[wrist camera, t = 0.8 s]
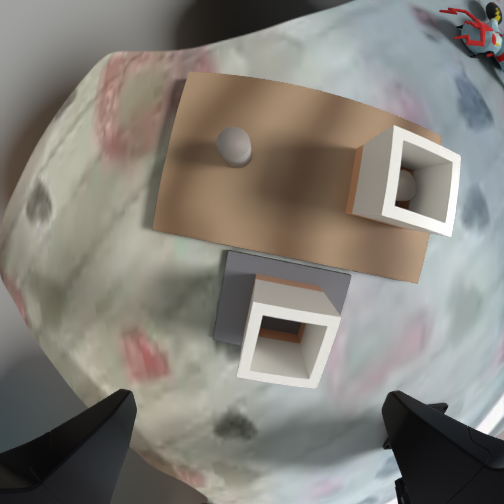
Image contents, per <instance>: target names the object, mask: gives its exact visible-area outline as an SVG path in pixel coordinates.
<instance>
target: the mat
mask: <svg viewBox="0 0 504 504" xmlns="http://www.w3.org/2000/svg"><path fill="white" fill-rule="evenodd" d="M256 274H260V275H265V276H270V277H275V278H280V279H285V280H291V281H296V282H301V283H306V284H311V285H317V286H320V288H321V289H322V290H323V292H324V293H325V295H326V296H327V297H328V299H329V300H330V302H331V303H332V304H333V306H334V307H335V309H336V310H337V312H338V313H339V314H341V311H342V307H343V304H344V301H345V297H346V294H347V290H348V287H349V283H350V279H351V275H350V274H346V273H341V272H336V271H331V270H326V269H321V268H316V267H311V266H306V265H301V264H296V263H291V262H286V261H281V260H276V259H271V258H267V257H262V256H257V255H252V254H247V253H242V252H237V251H232V250H229V251H228V257H227V262H226V267H225V273H224V278H223V284H222V290H221V295H220V301H219V307H218V312H217V318H216V324H215V330H214V336H213V340H217V341H222V342H226V343H231V344H236V345H241V346H242V341H243V335H244V330H245V325H246V320H247V316H248V311H249V306H250V302H251V297H252V292H253V287H254V283H255V278H256ZM300 325H301V322H298V321H292V320H286V319H281V318H275V317H270V316H265V315H263V316H262V320H261V325H260V328H263V329H269V330H274V331H280V332H286V333H292V334H298V332H299V329H300Z"/></svg>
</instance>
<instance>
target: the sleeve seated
mask: <svg viewBox="0 0 504 504" xmlns="http://www.w3.org/2000/svg"><path fill="white" fill-rule="evenodd" d="M460 160H461V156H460V155H458V154H456V153H454V152H452V151H450V150H448V149H446V148H444V147H442V146H440V145H438V144H436V143H434V142H432V141H430V140H428V139H426V138H423V137H421V136H419V135H417V134H414V133H412V132H410V131H407V130H405V129H402V128H400V127H397V126H395V125H393V126H392V127H390V128H388V129H387V130H385V131H384V132H382V133H380V134H379V135H377V136H376V137H374V138H372V139H371V140H369V141H368V142H366V143H364V144H363V145H361V146H360V147H358V148H357V149H356V154H355V160H354V167H353V173H352V179H351V185H350V190H349V196H348V201H347V206H346V211H345V213H347V214H351V215H354V216H358V217H362V218H366V219H370V220H373V221H377V222H381V223H384V224H388V225H391V226H395V227H398V228H402V229H408V230H414V231H419V232H425V233H431V234H436V235H442V236H447V237H451V234H452V228H453V223H454V217H455V210H456V203H457V195H458V186H459V175H460ZM400 170H405V171H408V172H409V173H410V174H411V175H412V176H413V177H414V179H415V181H416V193H415V195H414V197H413V198H412V199H410V200H408V201H400V203H399V207H396V206H395V200H396V194H397V187H398V181H399V173H400Z"/></svg>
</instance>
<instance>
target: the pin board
mask: <svg viewBox="0 0 504 504" xmlns="http://www.w3.org/2000/svg"><path fill="white" fill-rule="evenodd" d="M393 125H395V126H397V127H400V128H402V129H405V130H407V131H410V132H412V133H414V134H417V135H419V136H421V137H423V138H426V139H428V140H430V141H432V142H434V143H436V144H438V145H440V146H441V136H440V135H438V134H436V133H434V132H432V131H430V130H428V129H426V128H424V127H421V126H419V125H417V124H415V123H412V122H410V121H408V120H405V119H403V118H401V117H398V116H396V115H393V114H391V113H388V112H385V111H383V110H380V109H377V108H375V107H372V106H369V105H366V104H363V103H360V102H357V101H354V100H351V99H347V98H344V97H341V96H337V95H334V94H330V93H326V92H322V91H319V90H315V89H310V88H306V87H302V86H297V85H293V84H288V83H283V82H277V81H272V80H266V79H259V78H252V77H245V76H237V75H228V74H217V73H203V72H189V74H188V77H187V80H186V83H185V86H184V89H183V93H182V96H181V99H180V103H179V106H178V110H177V114H176V117H175V121H174V125H173V129H172V133H171V137H170V141H169V145H168V149H167V154H166V158H165V163H164V167H163V172H162V177H161V182H160V187H159V192H158V198H157V203H156V209H155V215H154V222H153V228H152V230H156V231H161V232H166V233H171V234H176V235H181V236H186V237H191V238H195V239H200V240H205V241H210V242H215V243H220V244H225V245H230V246H235V247H240V248H245V249H250V250H255V251H260V252H265V253H269V254H274V255H279V256H284V257H289V258H294V259H299V260H304V261H309V262H314V263H318V264H323V265H328V266H333V267H338V268H343V269H348V270H353V271H357V272H362V273H367V274H372V275H377V276H382V277H387V278H391V279H396V280H401V281H406V282H411V283H416V284H418V281H419V277H420V273H421V270H422V266H423V262H424V258H425V253H426V249H427V245H428V240H429V235H430V233H425V232H419V231H414V230H408V229H402V228H398V227H395V226H391V225H388V224H384V223H381V222H377V221H373V220H370V219H366V218H362V217H358V216H354V215H351V214H347V213H345V211H346V206H347V201H348V196H349V190H350V185H351V179H352V173H353V167H354V160H355V154H356V149H357V148H358V147H360V146H361V145H363V144H364V143H366V142H368V141H369V140H371V139H372V138H374V137H376V136H377V135H379V134H380V133H382V132H384V131H385V130H387V129H388V128H390V127H392V126H393ZM415 193H416V181H415V179H414V177H413V176H412V175H411V174H410V173H409V172H408V171H405V170H400V173H399V181H398V187H397V194H396V200H395V206H396V207H399V203H400V201H408V200H410V199H412V198H413V197H414V195H415Z"/></svg>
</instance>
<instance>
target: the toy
mask: <svg viewBox="0 0 504 504" xmlns="http://www.w3.org/2000/svg"><path fill="white" fill-rule="evenodd" d="M456 11H457V12H462V13H465V14H467V15H468V16H469V17H470V18H471V19H473V20H474V21H469V22H467V21H466V20H465V23H464V25H461V26H457V28H461V29H462V32H461V36H457V37H454V38H453V39H462V40H463V42H464V43H465V45H466V46H467V48H468V49H469V50H471V51H472V52H473V53H475V54H476V55H472V56H470V58H486V57H487V58H491V57H495V59H496V60H497V62H498V63H499V64H500V66H501V69H502V70H503V72H504V33H501V32H500V30H499V28H498V25H499V24H500V23H501V21H502V13H501V10H500V8H499V7H498V6H497V5H496V4H495V3H494V2H493V3H492V2H490V3H488V4H487V6H486V14H487V17H488V19H489V20H490V21H491V22H488V23H487V24H486V23H484V22H482V21H479V20H478V19H477V18H475V17H474V16H473V15H472V14H470V13H469V12H468V11H466V10H461V9H454V8H448V10H440V11H439V12H443V13H450V14H456V15H457V12H456Z"/></svg>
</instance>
